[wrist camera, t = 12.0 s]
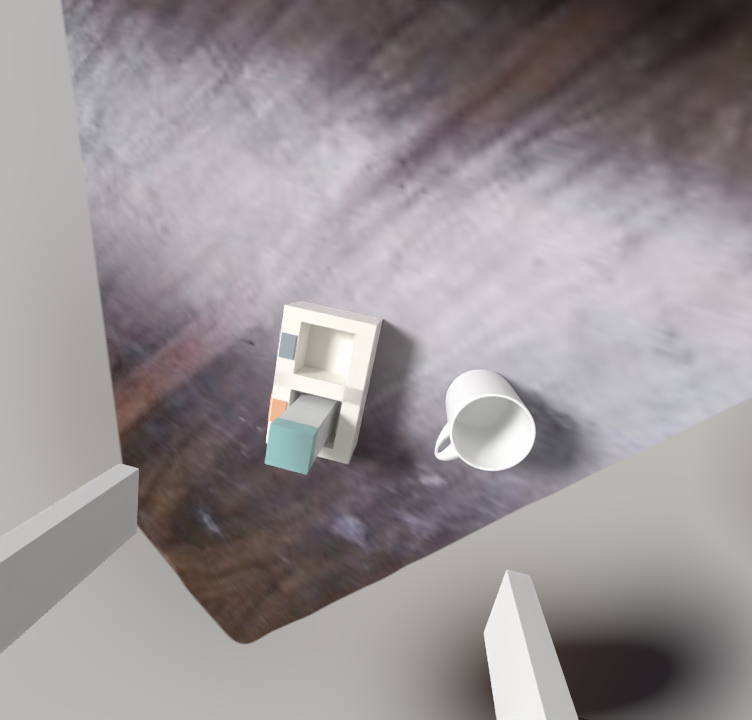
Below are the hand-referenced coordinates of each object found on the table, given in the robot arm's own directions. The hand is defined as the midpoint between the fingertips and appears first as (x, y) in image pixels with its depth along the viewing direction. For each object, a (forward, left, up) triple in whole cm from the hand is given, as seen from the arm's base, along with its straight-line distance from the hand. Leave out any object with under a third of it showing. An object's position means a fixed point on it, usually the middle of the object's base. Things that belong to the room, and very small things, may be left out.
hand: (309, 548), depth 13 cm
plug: (+10, -8, -35) cm, 37 cm away
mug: (+6, +11, -37) cm, 39 cm away
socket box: (+6, -8, -37) cm, 38 cm away
